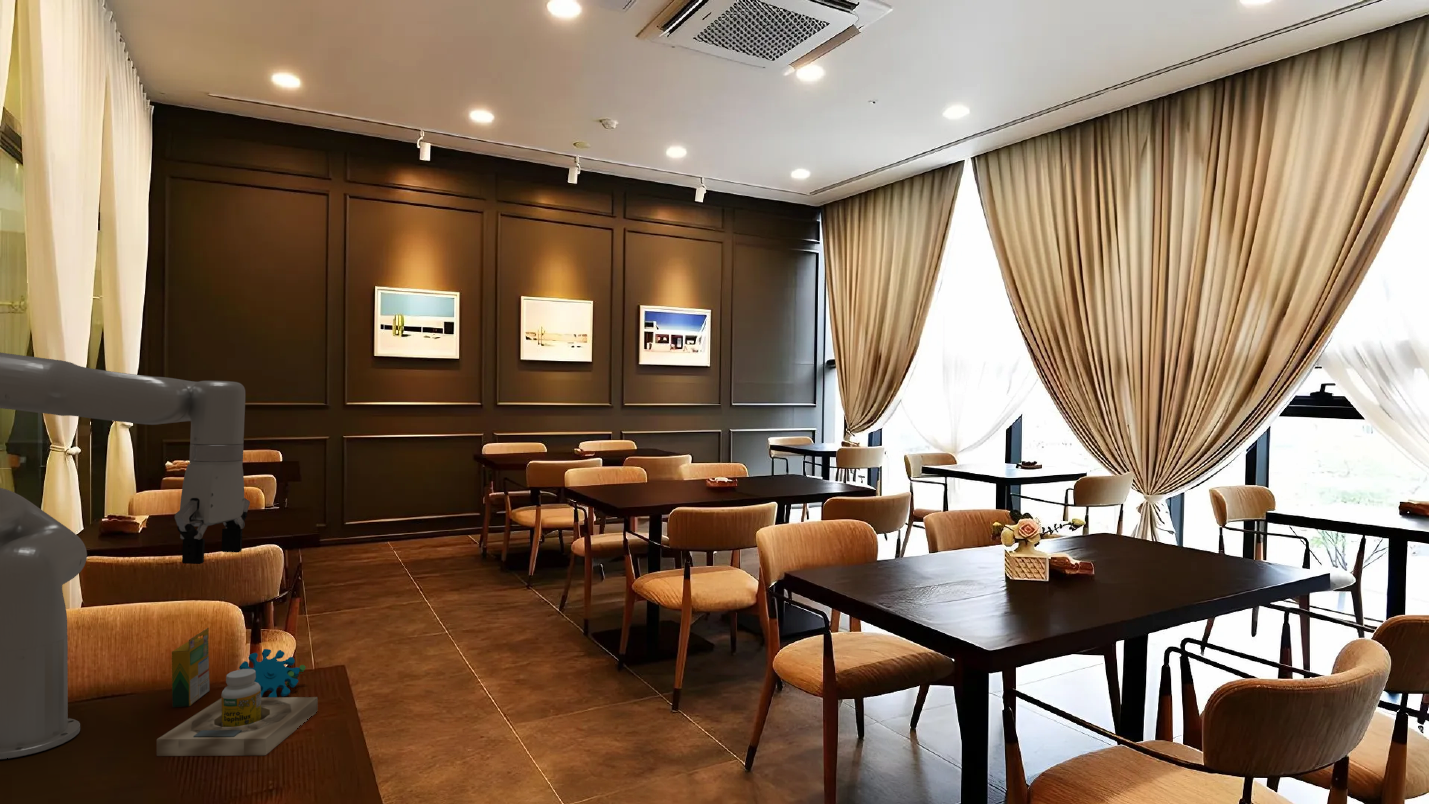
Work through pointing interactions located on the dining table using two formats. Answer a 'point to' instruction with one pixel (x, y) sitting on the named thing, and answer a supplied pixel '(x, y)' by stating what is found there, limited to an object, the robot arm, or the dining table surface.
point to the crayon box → (190, 670)
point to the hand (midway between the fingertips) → (212, 557)
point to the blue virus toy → (274, 672)
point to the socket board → (237, 729)
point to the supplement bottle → (241, 699)
